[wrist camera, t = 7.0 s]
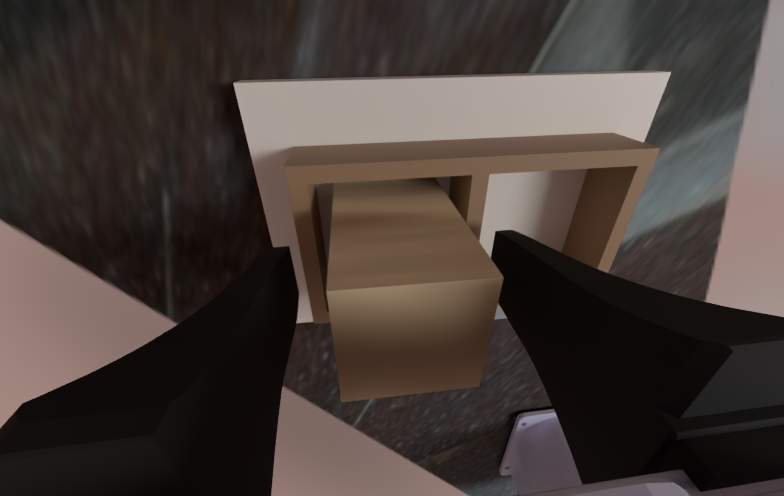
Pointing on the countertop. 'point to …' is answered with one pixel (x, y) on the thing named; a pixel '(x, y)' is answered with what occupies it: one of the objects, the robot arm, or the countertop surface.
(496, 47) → the countertop surface
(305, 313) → the socket board
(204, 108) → the countertop surface
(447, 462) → the countertop surface
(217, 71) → the countertop surface
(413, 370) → the maple peg
